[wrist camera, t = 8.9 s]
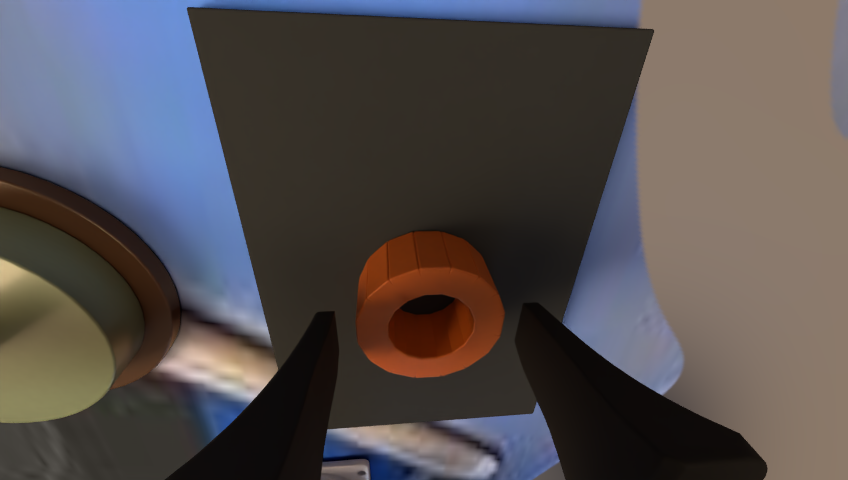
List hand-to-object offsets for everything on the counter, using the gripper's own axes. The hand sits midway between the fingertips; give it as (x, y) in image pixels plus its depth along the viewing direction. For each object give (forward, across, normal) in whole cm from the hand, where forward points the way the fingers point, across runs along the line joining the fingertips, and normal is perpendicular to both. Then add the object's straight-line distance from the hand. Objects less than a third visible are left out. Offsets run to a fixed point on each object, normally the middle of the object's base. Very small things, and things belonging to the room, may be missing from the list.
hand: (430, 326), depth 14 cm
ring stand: (+3, +16, 0) cm, 16 cm away
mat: (+3, 0, 0) cm, 3 cm away
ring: (+2, 0, 0) cm, 2 cm away
